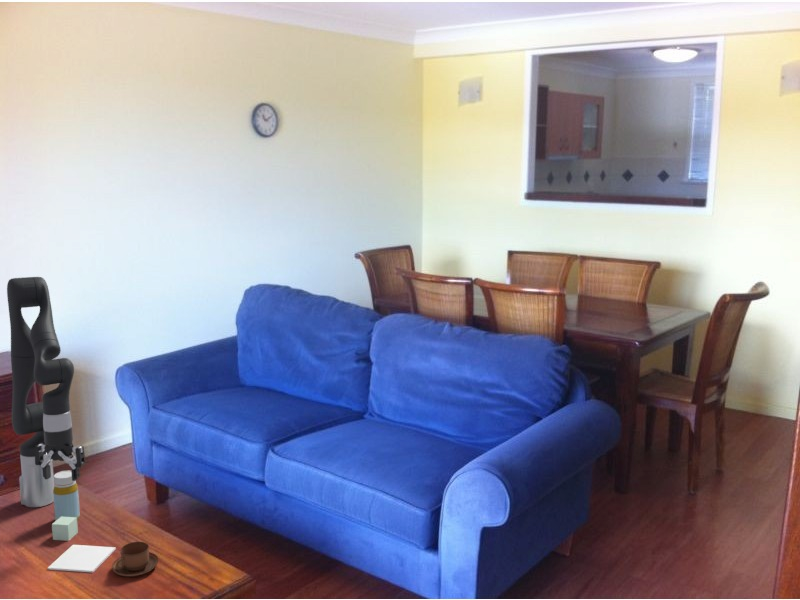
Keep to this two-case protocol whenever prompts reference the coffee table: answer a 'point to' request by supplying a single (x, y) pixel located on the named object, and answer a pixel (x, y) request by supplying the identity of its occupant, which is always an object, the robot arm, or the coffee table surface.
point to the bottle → (65, 495)
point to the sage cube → (64, 528)
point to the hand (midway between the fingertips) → (61, 479)
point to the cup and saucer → (134, 560)
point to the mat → (82, 558)
